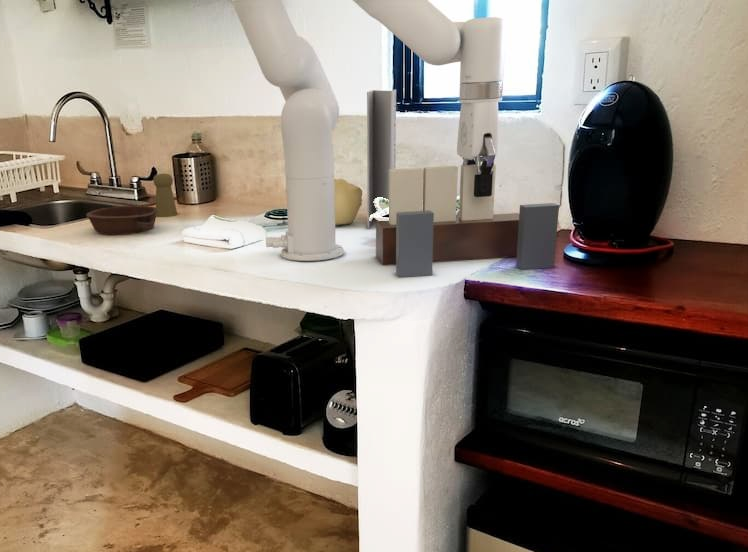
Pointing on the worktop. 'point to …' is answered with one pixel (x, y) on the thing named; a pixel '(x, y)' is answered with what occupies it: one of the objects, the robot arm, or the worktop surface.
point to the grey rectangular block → (537, 235)
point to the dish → (123, 219)
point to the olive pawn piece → (164, 195)
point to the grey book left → (414, 243)
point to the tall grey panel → (380, 144)
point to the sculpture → (346, 201)
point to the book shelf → (459, 239)
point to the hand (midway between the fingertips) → (476, 192)
